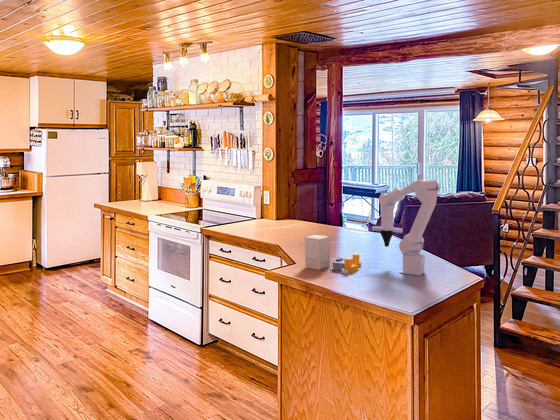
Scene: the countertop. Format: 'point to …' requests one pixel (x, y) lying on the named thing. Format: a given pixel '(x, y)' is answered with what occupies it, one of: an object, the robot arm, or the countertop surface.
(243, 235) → the countertop surface
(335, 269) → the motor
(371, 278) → the countertop surface
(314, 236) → the supplement box
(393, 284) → the countertop surface
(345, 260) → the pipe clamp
